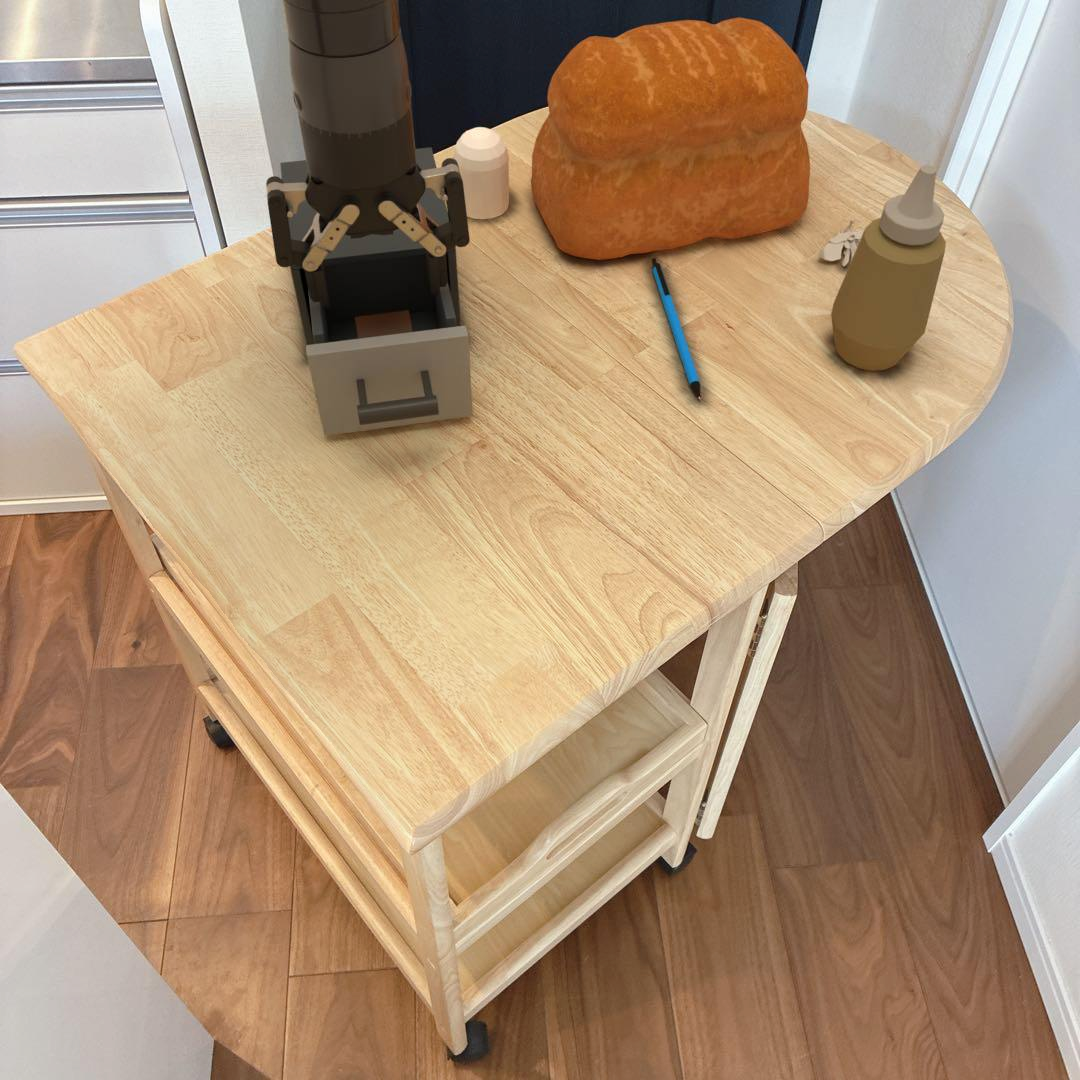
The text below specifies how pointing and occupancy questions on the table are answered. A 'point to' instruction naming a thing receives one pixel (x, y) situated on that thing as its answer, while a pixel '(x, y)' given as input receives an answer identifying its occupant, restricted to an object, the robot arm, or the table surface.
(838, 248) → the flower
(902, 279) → the squeeze bottle
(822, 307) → the table surface
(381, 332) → the block
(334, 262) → the cabinet
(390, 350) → the drawer
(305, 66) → the robot arm
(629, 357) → the table surface
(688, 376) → the pen
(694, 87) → the bread
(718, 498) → the table surface
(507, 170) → the white domed cylinder
